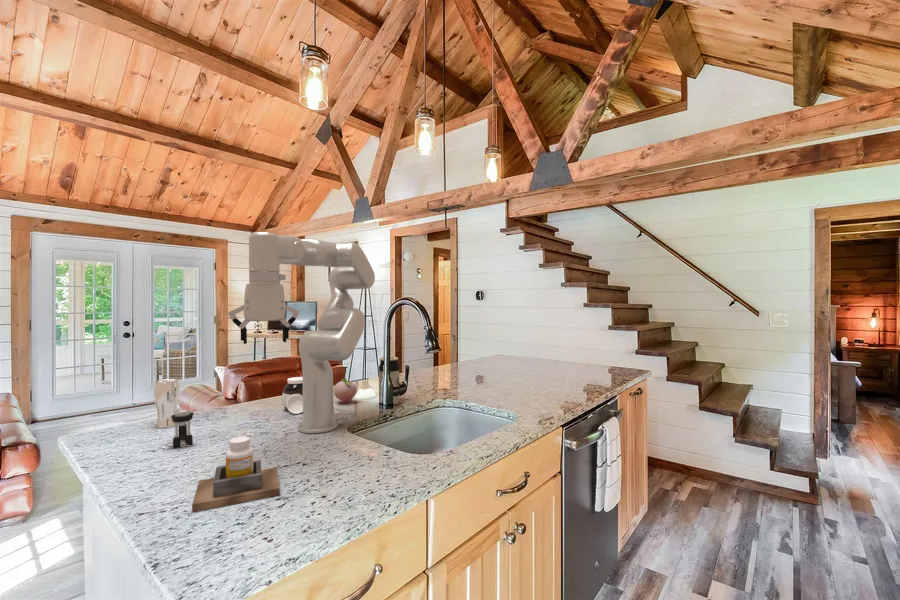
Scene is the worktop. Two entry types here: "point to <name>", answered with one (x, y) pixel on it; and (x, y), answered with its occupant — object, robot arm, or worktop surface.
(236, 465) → the supplement bottle
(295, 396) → the spread jar
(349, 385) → the decorative fruit
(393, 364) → the travel mug
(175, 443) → the push button
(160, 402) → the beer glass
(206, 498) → the collar board
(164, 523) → the worktop surface
